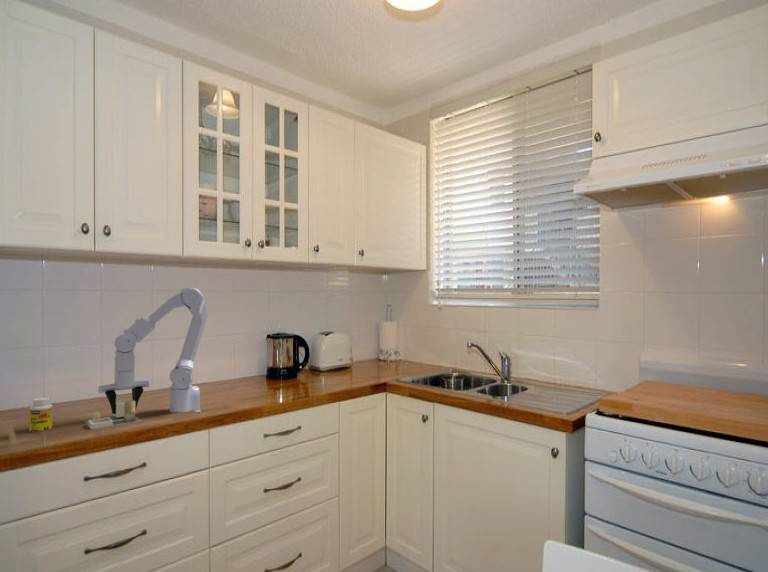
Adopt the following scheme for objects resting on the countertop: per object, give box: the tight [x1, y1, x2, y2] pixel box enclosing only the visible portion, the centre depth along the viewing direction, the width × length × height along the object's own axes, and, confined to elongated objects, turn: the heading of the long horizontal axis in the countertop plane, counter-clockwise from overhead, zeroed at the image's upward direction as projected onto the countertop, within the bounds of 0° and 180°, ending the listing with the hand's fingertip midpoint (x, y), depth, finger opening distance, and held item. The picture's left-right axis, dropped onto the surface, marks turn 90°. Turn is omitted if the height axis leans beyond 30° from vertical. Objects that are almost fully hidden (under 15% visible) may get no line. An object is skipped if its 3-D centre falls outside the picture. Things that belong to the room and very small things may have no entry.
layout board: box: [83, 410, 143, 431], centre depth 145 cm, size 14×13×4 cm
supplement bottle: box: [28, 397, 54, 433], centre depth 137 cm, size 6×6×10 cm
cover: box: [112, 398, 134, 418], centre depth 151 cm, size 5×5×4 cm
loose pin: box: [124, 401, 136, 422], centre depth 146 cm, size 3×3×6 cm
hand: (124, 411), depth 151 cm, fingers closed on cover, 5 cm apart
